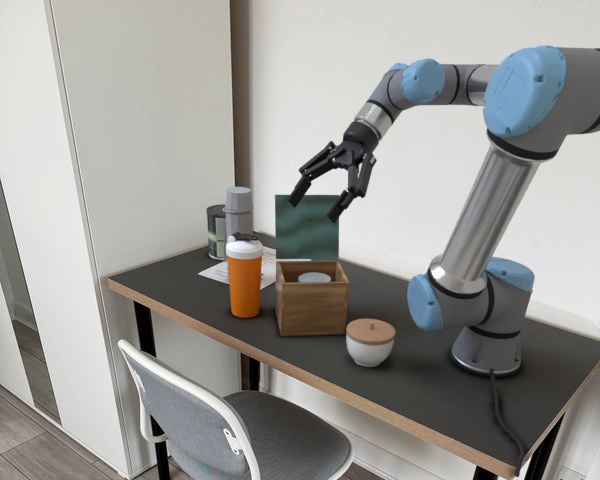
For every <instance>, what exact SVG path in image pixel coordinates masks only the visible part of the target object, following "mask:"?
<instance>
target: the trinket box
mask: <svg viewBox="0 0 600 480" xmlns="http://www.w3.org/2000/svg"><path fill="white" fill-rule="evenodd" d="M396 333H397V332H396V329H395V327H394V326H393V325H392V324H390V323H389V322H386V321H384V320H380V319H375V318H358V319H354V320H352V321H350V322H349V323H348V324H346V327H345V343H346V344H345V345H346V350H347V352H348V354H349V356H350V357H351V358H352V359H353V361H354V363H355V364H357V365H359V366H361V367H367V368H374V367H378V366H379V365H380V364H381V363H382V362H384V361H385V360H386V359H387V358H388V357H389V355H391V352H392V350H393V348H394V343H395V338H396Z"/></svg>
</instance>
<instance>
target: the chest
mask: <svg viewBox="0 0 600 480" xmlns="http://www.w3.org/2000/svg"><path fill="white" fill-rule="evenodd" d="M311 272H316V273H323V274H326V275H328V276H329V277H330V278H331V282H298V279H299V276H300V275H302V274H305V273H311ZM350 283H351V282H350V281H349V279H348V277H347V275H346V273H345V271H344V269H343V267H342V265H341V262H340V261H339V260H276V261H275V295H274V296H275V298H274V300H275V301H274V302H275V303H274V304H275V305H274V312H275V316H276V320H277V321H276V322H277V325H278V329H279V333H280V337H292V336H293V337H296V336H297V337H298V336H299V337H300V336H333V335H335V336H336V335H337V336H339V335H346V328H347V316H348V305H349V296H350V295H349V294H350Z"/></svg>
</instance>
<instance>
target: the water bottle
mask: <svg viewBox="0 0 600 480" xmlns="http://www.w3.org/2000/svg"><path fill="white" fill-rule="evenodd" d="M252 194H253V193H252V189H251V188H249V187H244V186H232V187H228V188H226V191H225V208H223V211H224V212H226V218H225V234H224V250H223V251H224V259H225V260H224V261H226V264H227V266H226V267H228V259H227V258H226V251H225V250H226V233H227V243H228V237H229V236H230V235H232V234H233V233H235V232H236V231H240V232H241V233H242V234H254V232H253V231H254V230H253V229H254V224H253V221H254V219H253V218H254V217H253V216H254V213H253V210H254V206H253V205H254V203H253V195H252ZM224 209H225V210H224ZM227 280H228V281H229V272H228V271H227Z"/></svg>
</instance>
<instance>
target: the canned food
mask: <svg viewBox="0 0 600 480" xmlns="http://www.w3.org/2000/svg"><path fill="white" fill-rule="evenodd" d="M298 282H331V278H330V277H329V276H328V275H326V274H323V273H316V272H311V273H305V274H302V275H300V276H299V279H298Z"/></svg>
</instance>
